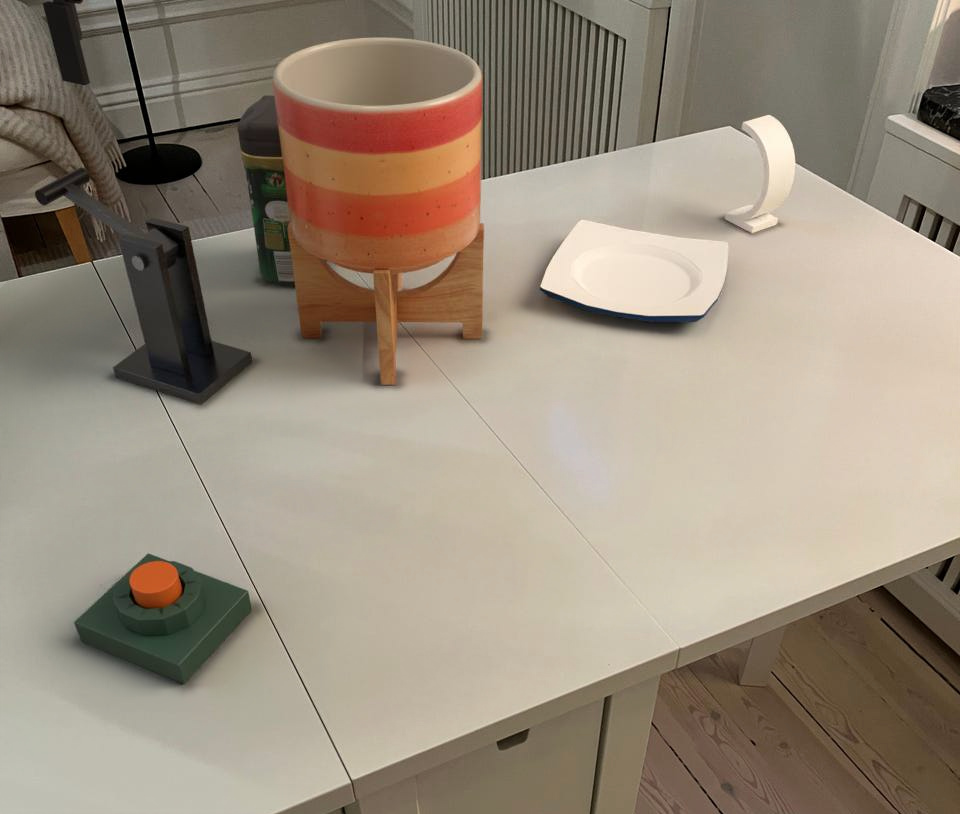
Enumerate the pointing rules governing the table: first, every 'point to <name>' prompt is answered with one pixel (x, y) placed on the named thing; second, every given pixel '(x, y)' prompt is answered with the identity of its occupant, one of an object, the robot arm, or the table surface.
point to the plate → (636, 273)
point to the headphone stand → (768, 174)
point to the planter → (383, 183)
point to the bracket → (173, 322)
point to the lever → (101, 210)
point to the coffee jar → (267, 189)
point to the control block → (166, 622)
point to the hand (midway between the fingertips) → (25, 105)
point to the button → (155, 584)
